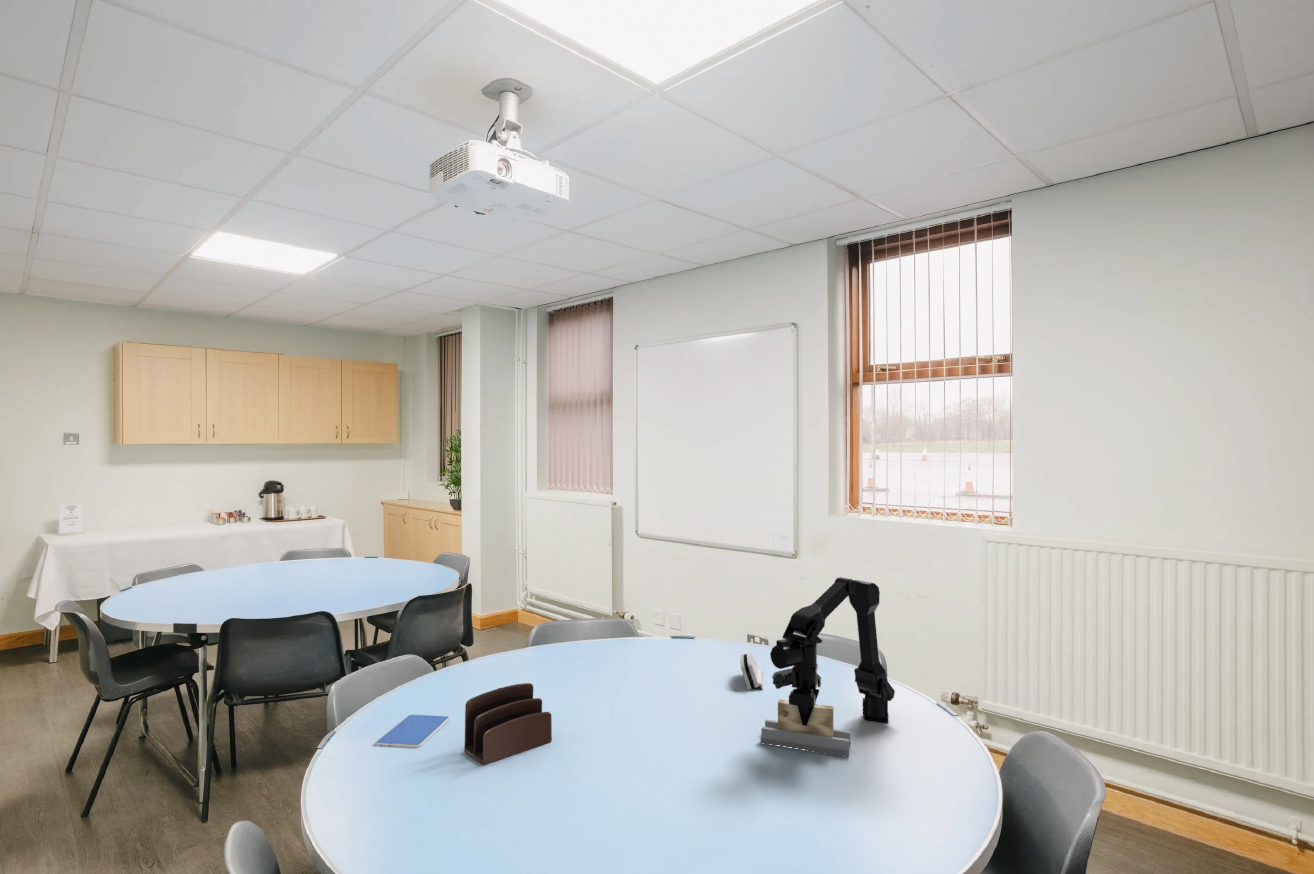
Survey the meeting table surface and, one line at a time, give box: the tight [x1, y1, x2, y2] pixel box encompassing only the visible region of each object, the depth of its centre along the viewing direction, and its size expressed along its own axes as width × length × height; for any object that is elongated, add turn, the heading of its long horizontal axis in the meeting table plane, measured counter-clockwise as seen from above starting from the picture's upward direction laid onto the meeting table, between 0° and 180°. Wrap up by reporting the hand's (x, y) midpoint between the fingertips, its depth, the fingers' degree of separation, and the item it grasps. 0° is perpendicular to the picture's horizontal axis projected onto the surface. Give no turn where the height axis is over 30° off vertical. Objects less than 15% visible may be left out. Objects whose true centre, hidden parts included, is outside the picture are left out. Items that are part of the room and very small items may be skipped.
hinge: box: [739, 651, 764, 690], centre depth 219 cm, size 17×5×10 cm, turn 171°
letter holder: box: [463, 682, 553, 766], centre depth 167 cm, size 10×20×14 cm, turn 134°
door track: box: [760, 719, 852, 758], centre depth 170 cm, size 22×9×4 cm, turn 70°
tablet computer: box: [374, 714, 451, 749], centre depth 176 cm, size 19×13×1 cm, turn 174°
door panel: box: [777, 698, 834, 737], centre depth 170 cm, size 14×3×9 cm, turn 70°
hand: (805, 721), depth 170 cm, fingers open, 4 cm apart
